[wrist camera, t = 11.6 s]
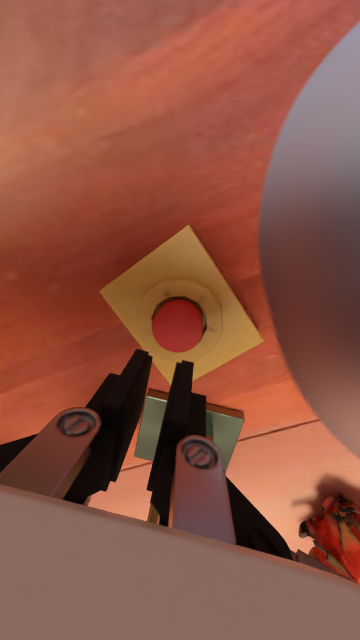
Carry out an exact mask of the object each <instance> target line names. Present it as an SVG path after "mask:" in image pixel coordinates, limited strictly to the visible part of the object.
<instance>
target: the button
mask: <svg viewBox="0 0 360 640" xmlns="http://www.w3.org/2000/svg"><path fill="white" fill-rule="evenodd" d="M202 332H203V318H202V315H201V312H200V311H199V309H198V308H197V307H196V306H195V305H194V304H193V303H191V302H189V301H187V300H183V299H175V300H171V301H168V302H167V303H165V304H164V305H163V306H162V307H161V308H160V309H159V311H158V312H157V314H156V315H155V317H154V319H153V323H152V333H153V336H154V338H155V340H156V342H157V343H158V344H159V345H160V346H161V347H162V348H164V349H166V350H168V351H170V352H175V353H181V352H186V351H189V350H191V349H192V348H194V347H195V346H196V345H197V344H198V343H199V341H200V339H201V337H202Z"/></svg>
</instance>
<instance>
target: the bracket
mask: <svg viewBox="0 0 360 640" xmlns="http://www.w3.org/2000/svg"><path fill="white" fill-rule="evenodd" d="M168 396H169V394H166V393H162V392H157V391H153V390H148V392H147V395H146V399H145V404H144V409H143V414H142V419H141V424H140V429H139V434H138V439H137V444H136V449H135V454H134V456H135V457H138V458H142V459H146V460H150V461H153V460H154V456H155V451H156V447H157V443H158V438H159V434H160V430H161V426H162V421H163V417H164V413H165V409H166V404H167V400H168ZM243 423H244V415H243V412H240V411H236V410H232V409H228V408H223V407H219V406H215V405H211V404H207V403H206V438H207V439H209V440H211V441H212V442H213V443H214V444H216V445H217V447H218V448H219V450H220V451H221V454H222V457H223V462H224V469H225V473H226V470H227V467H228V465H229V462H230V459H231V456H232V453H233V451H234V448H235V445H236V442H237V439H238V437H239V434H240V431H241V428H242V426H243ZM158 516H159V514H158V512H157V511H156V509H155V508H154V506H153V504H152V503H151V505H150V509H149V514H148V519H147V522H151V523H155V524H157V520H158Z"/></svg>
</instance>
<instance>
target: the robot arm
mask: <svg viewBox="0 0 360 640" xmlns="http://www.w3.org/2000/svg"><path fill="white" fill-rule="evenodd" d="M152 358H153V356H150V355H149V352H147V351H143V350H139V349H136V351H135V352H134V354H133V355H132V357H131V359H130V360H129V362H128V363H127V365H126V367H125V368H124V370H123V371H122V373H121V375H117V374H113V373H110V374H109V375H108V376H107V377H106V379H105V380H104V382H103V383H102V384H101V386H100V387H99V389H98V390H97V392H96V393H95V394H94V396H93V397H92V399H91V400H90V401H89V403H88V404H87V406H86V407H85V408H84V407H74V408H69V409H66V410H64V411H62V412H60V413H59V414H57V415H56V416H55V417H54V418H53V419H52V420H51V421H50V422H49V423H48V424H47V425H46V426H45V427H44V428H43V429H42V430H41V431H40V432H39V433H38V434H35V435H32V436H28V437H25V438H22V439H19V440H15V441H12V442H9V443H5V444H2V445H0V640H360V584H358V583H356V582H354V581H353V580H351V579H349V578H347V577H346V576H344V575H342V574H340V573H339V572H337V571H335V570H334V569H332V568H330V567H328V566H327V565H325V564H323V563H321V562H320V561H318V560H316V559H314V558H313V557H311V556H309V555H308V554H306V553H304V552H302V551H301V550H299V549H298V551H297V552H296V553H295V552H293V551H291V550H290V549H289V547H288V545H287V543H286V541H285V540H284V539H283V538H282V536H281V535H280V534H279V532H278V531H277V530H276V529H275V528H274V527H273V526H272V525H271V524H270V523H269V522H268V521H267V520H266V519H265V517H264V516H263V515H262V514H261V513H260V512H259V511H258V510H257V509H256V508H255V507H254V506H253V505H252V504H251V503H250V501H249V500H248V499H247V498H246V497H245V496H244V495H243V494H242V493H241V492H240V491H239V490H238V489H237V488H236V486H235V485H234V484H233V483H232V482H231V481H230V480H229V479H228V478H227V477H226V475H225V469H224V462H223V457H222V454H221V451H220V450H219V448H218V447H217V445H216V444H214V443H213V442H212V441H211V440H209V439H207V438H206V396H204V395H200V394H196V393H192V392H191V389H192V379H193V369H194V363H193V362H189V361H185V360H182V362H181V363H179V362H176V367H175V371H174V375H173V379H172V383H171V388H170V392H169V396H168V400H167V404H166V409H165V413H164V417H163V421H162V426H161V430H160V434H159V438H158V443H157V447H156V451H155V456H154V460H153V464H152V469H151V473H150V477H149V481H148V486H147V490H148V491H152V496H151V501H150V503H152V504H153V506H154V508H155V509H156V511H157V512H158V514H159V516H158V520H157V524H155V523H151V522H147V521H143V520H139V519H135V518H131V517H127V516H123V515H120V514H116V513H112V512H108V511H104V510H100V509H96V508H92V507H88V504H89V501H90V499H91V495H92V494H94V493H96V492H98V491H100V490H102V491H107V488H108V486H109V483H110V481H113V482H116V480H117V478H118V475H119V472H120V469H121V467H122V464H123V461H124V459H125V456H126V453H127V450H128V448H129V445H130V442H131V440H132V437H133V434H134V432H135V429H136V426H137V423H138V421H139V418H140V415H141V412H142V409H143V404H144V399H145V394H146V389H147V384H148V379H149V374H150V369H151V364H152Z"/></svg>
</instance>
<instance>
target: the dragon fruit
mask: <svg viewBox="0 0 360 640" xmlns="http://www.w3.org/2000/svg"><path fill="white" fill-rule="evenodd" d="M338 494H339V497H340V500H338V501H337V500H336V499H335V498H334V497H331V496H329V497H328V498H327V499H326V500H325V501H322V503H321V505H320V510H321V512H322V509H323V510H325V514H326V515H325V517H324V518H322V517H319V516H315V517H314V518H313V519H309V520H306V521H303V522H302V523H301V524H300V527H299V537H301V538H305V537H306V536H310V537H312V538H314V539H315V540H316V541H315V540H313V542H314V545H315V547H313V548H312V549H311V550H310V551H309V556H311V557H313V558H314V559H316V560H318V561H320V562H321V563H323V564H325V565H327V566H328V567H330V568H332V569H334V570H335V571H337V572H339V573H340V574H342V575H344V576H346V577H347V578H349V579H351V580H353V581H354V582H356V583H358V584H360V507H358V506H357V505H355V504H353V502H352V501H351V500H349V499H348V498H347V497H345V496H344V494H340V493H338ZM323 514H324V513H323Z"/></svg>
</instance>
